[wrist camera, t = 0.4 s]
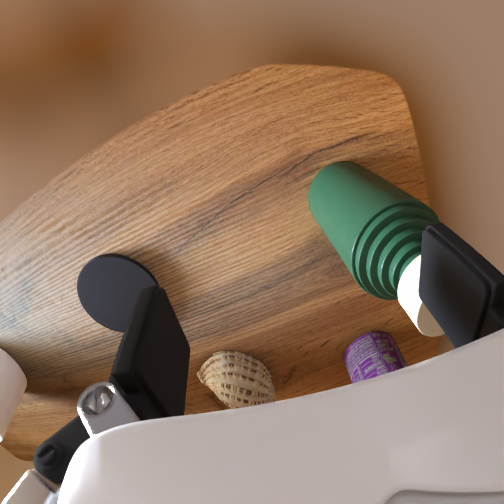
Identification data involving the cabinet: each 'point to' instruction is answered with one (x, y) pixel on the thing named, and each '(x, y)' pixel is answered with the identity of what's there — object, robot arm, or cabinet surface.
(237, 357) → the seashell
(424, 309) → the cap
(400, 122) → the cabinet surface
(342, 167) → the bottle
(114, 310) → the coaster
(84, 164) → the cabinet surface
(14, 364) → the cup
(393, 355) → the beverage can
